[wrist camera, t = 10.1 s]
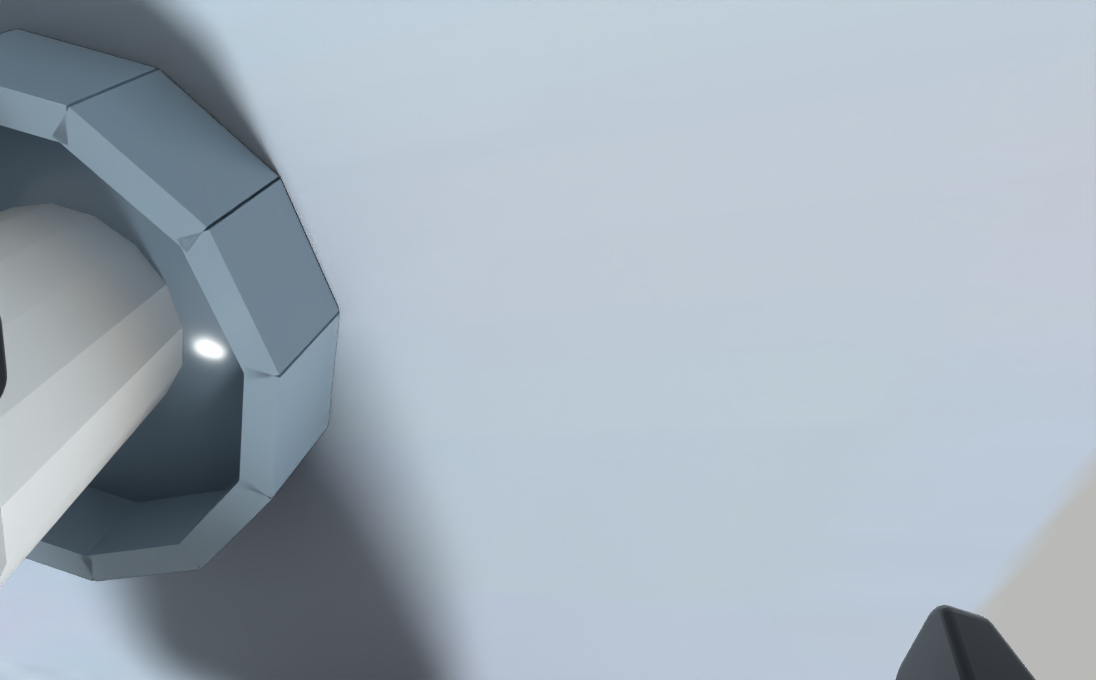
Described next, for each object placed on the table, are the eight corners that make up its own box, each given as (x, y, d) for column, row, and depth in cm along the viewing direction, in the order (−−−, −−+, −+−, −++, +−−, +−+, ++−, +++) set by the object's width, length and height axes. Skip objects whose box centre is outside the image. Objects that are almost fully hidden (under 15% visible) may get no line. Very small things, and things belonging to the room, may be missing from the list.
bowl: (314, 560, 27) (262, 639, 25) (-92, 424, 29) (-182, 486, 26) (358, 125, 21) (294, 171, 18) (-170, -24, 22) (-299, -1, 20)
